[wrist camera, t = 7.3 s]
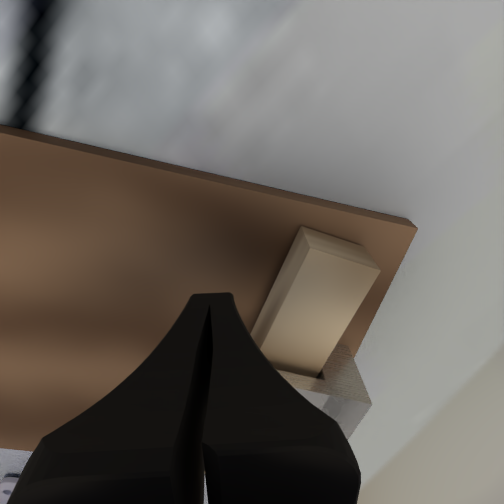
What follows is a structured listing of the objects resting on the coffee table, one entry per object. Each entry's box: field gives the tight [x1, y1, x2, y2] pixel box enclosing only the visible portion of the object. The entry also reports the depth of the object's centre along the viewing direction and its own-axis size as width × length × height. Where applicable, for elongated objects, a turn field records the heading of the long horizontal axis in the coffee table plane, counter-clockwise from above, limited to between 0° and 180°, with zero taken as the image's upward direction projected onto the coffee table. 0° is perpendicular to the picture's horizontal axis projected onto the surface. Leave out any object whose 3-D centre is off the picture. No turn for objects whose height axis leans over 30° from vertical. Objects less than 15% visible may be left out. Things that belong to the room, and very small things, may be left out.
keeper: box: [277, 344, 372, 440], centre depth 18 cm, size 3×6×4 cm, turn 71°
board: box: [0, 125, 418, 451], centre depth 19 cm, size 18×18×1 cm
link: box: [204, 226, 381, 473], centre depth 18 cm, size 14×3×3 cm, turn 159°
